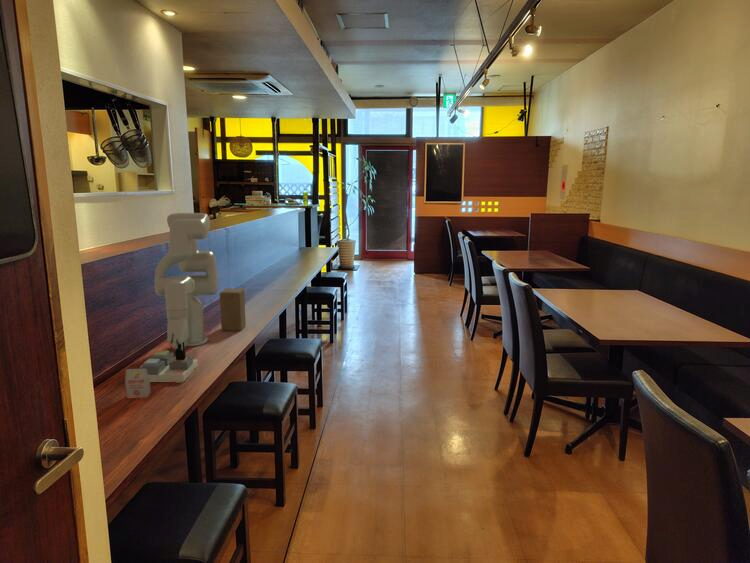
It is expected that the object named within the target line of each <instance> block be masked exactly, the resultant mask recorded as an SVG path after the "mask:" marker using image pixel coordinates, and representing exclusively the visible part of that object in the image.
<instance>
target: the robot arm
mask: <svg viewBox="0 0 750 563" xmlns="http://www.w3.org/2000/svg"><path fill="white" fill-rule="evenodd" d="M166 222H167V226H168V228H169V234H168V235H169V238H168V252H167V254H165V255H164V256H163V257H162V259H160V261H158V264H157V265H156V268H155V271H154V291H155V294H156V295H158V296H159V297H165V308H166V319H167V327H166V329H167V330H166V332H167V336H166V337H167V345H169V346H170V345H171V344H172V349H173V350H174V351H175V353H174V355H175V356H176V360H184V359H185V358H186V356H187V355H186V354H187V353H186V347H198V346H202V345H205V344H207V343H208V342H209V338H208V337H207V336H205V327H204V326H205V325H204V324H205V323H204V309H203V308H204V307H203V303H202V302H201V300H200V299H199V298H198V297H199V296H200V297H201V296H214V295H216V294H217V292H218V288H219V286H218V271H217V269H218V268H217V259H216V256H215V253H213V251H210V250H199V248H198V240H205V239H207V237H208V235H209V233H210V229H211V218H210V216H209V215H208V214H207V213H203V212H175V213H171V214H169V215H168V216H167V219H166ZM175 265H178V268H179V270H180V271H181V272H183V273H205V274H187V275H186V274H185V275H181V276H180V275H176V276H174V275H173V276H171V275H170V276H165V273H166V272H167V271H168V269H170V268H171V267H173V266H175Z"/></svg>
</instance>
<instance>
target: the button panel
mask: <svg viewBox="0 0 750 563" xmlns="http://www.w3.org/2000/svg"><path fill="white" fill-rule="evenodd" d="M186 357H188V358H189V359H188V360H187V361H186V362H173V361H174V360H175V359H176V355H175V353H174V352H169V355H168V356H167V357H166V358H154V354H153V355H152V356H151V357H150V358H149V359H160V363H159V364H158V365H157V366H144V363H143V364H142V365H140V366H139V368H138V369H147V373H148V375H149V380H150V382H171V381H185V379H186V378H187V377H188V376H189V375H190V374H191V373H192V372H193V371H194V372H195V370H196V369H197V368H198V367H199V362H198V359H196V358H195V359H193V357H194V356H189V355H188V356H187V355H186ZM197 366H198V367H197ZM196 367H197V368H196ZM195 368H196V369H195ZM194 369H195V370H194ZM194 372H193V373H194ZM193 373H192V374H193ZM192 374H191V375H192ZM191 375H190V376H191ZM190 376H189V377H190ZM189 377H188V378H189ZM185 382H186V381H185Z"/></svg>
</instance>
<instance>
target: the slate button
mask: <svg viewBox="0 0 750 563" xmlns="http://www.w3.org/2000/svg"><path fill="white" fill-rule="evenodd" d="M159 363H160V359H150V358H148V359H147V360H146V361H144V362H143V364H144V366H157V365H158V364H159Z"/></svg>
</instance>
